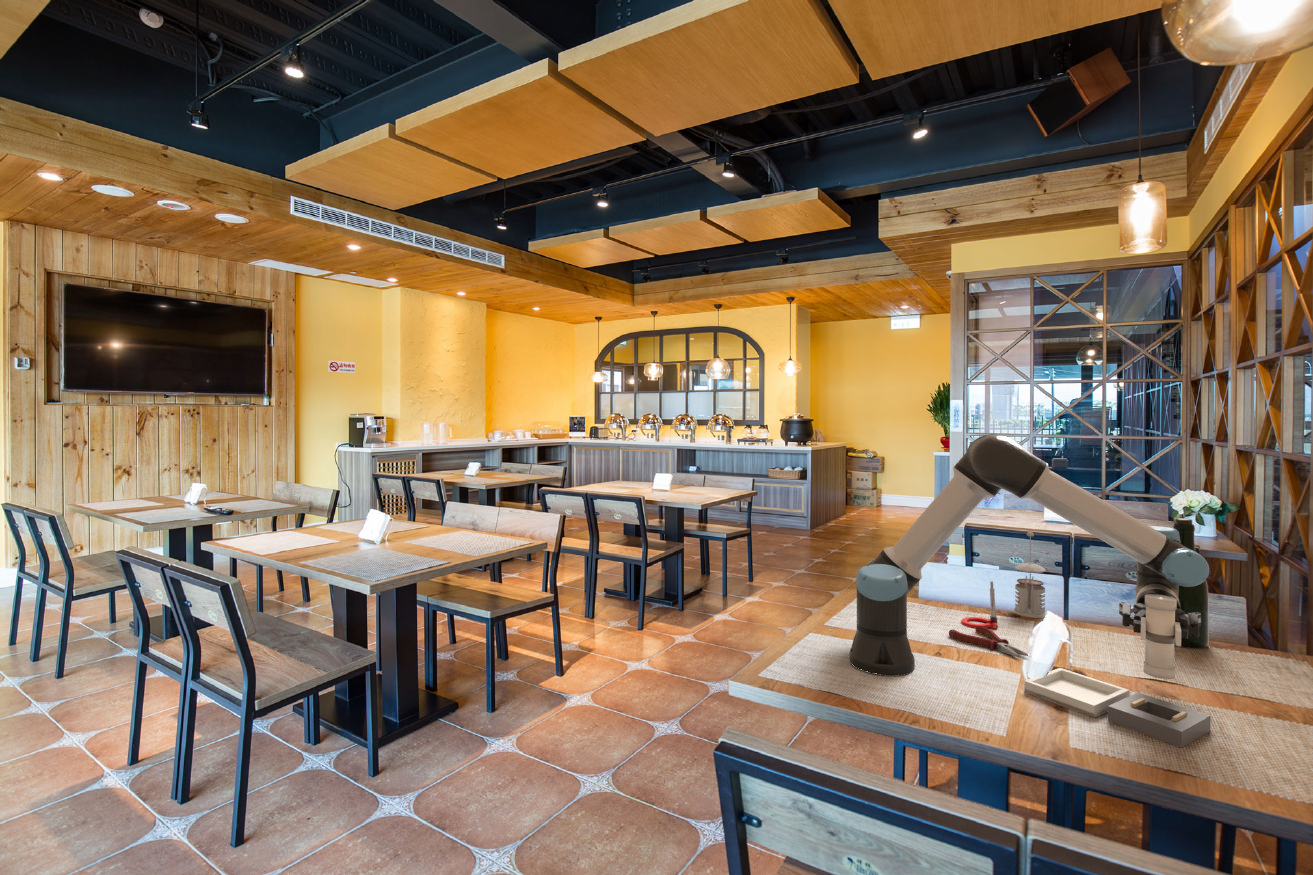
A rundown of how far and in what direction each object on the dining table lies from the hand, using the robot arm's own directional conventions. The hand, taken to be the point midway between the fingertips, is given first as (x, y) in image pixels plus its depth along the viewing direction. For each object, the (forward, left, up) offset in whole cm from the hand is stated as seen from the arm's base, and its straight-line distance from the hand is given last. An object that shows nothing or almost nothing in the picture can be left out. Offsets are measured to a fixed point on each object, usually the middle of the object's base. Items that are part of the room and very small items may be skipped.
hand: (1160, 635), depth 118 cm
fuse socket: (+5, +2, -19) cm, 20 cm away
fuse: (+5, +2, -9) cm, 10 cm away
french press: (+54, +55, -20) cm, 79 cm away
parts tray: (+5, +17, -19) cm, 26 cm away
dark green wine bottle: (+63, +20, -20) cm, 69 cm away
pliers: (+17, +46, -20) cm, 53 cm away
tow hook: (+32, +57, -20) cm, 68 cm away
